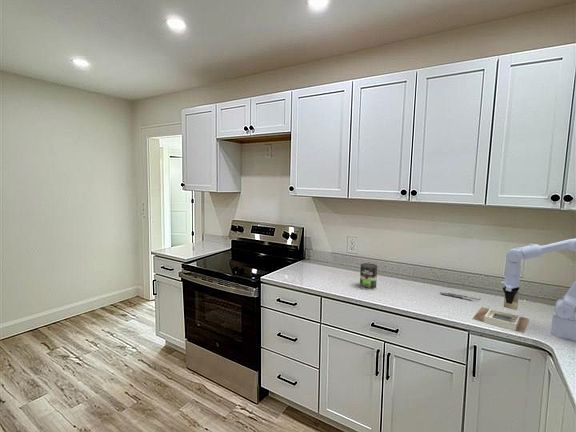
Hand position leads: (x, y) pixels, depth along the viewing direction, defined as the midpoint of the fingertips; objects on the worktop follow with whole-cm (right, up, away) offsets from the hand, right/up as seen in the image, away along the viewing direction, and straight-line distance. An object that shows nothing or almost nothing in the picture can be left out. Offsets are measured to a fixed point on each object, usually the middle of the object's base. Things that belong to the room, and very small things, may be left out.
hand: (509, 302), depth 146 cm
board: (-2, -10, +3) cm, 10 cm away
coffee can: (-54, -4, +48) cm, 73 cm away
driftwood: (-5, -7, +33) cm, 34 cm away
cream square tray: (-4, -10, 0) cm, 11 cm away
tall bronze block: (0, -3, 0) cm, 3 cm away
